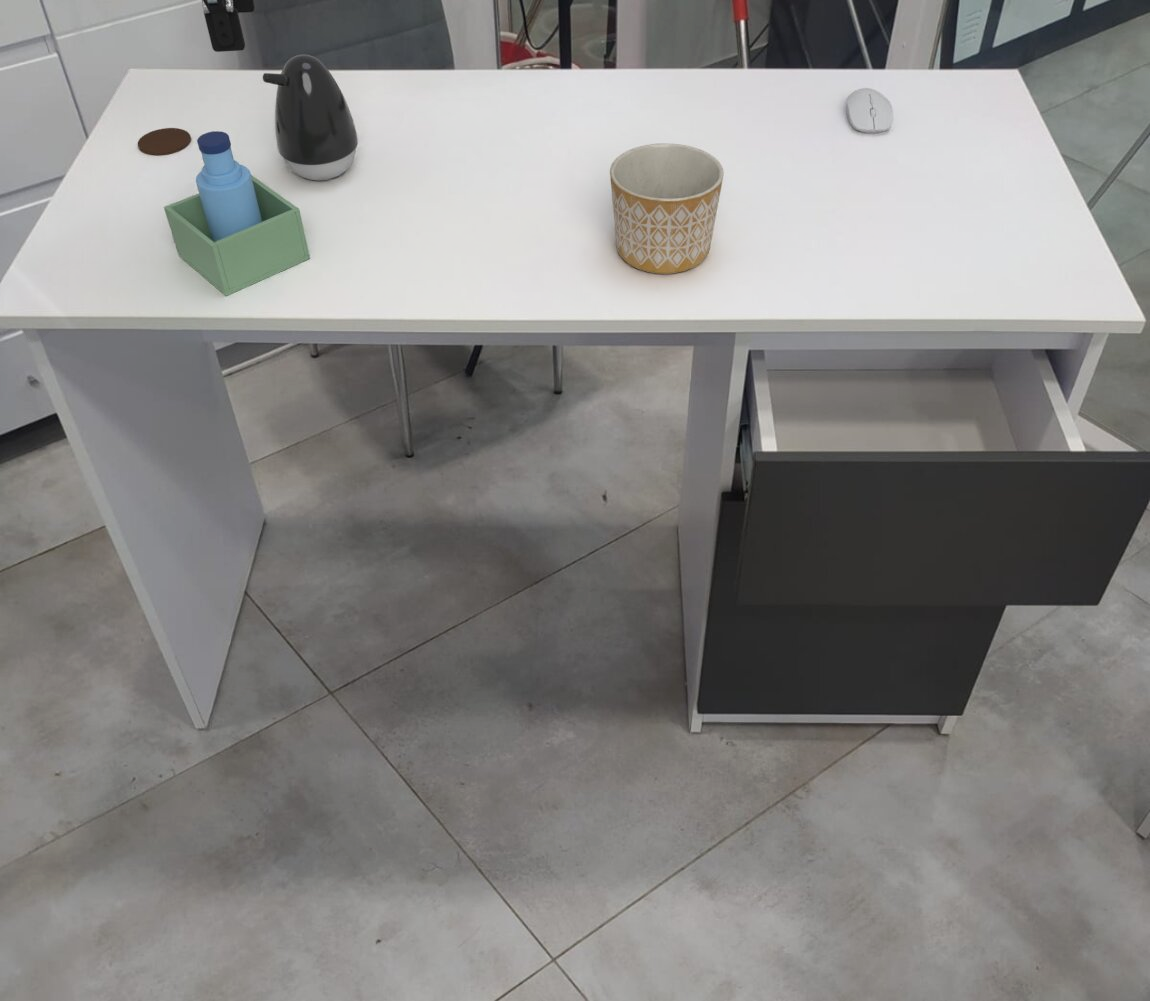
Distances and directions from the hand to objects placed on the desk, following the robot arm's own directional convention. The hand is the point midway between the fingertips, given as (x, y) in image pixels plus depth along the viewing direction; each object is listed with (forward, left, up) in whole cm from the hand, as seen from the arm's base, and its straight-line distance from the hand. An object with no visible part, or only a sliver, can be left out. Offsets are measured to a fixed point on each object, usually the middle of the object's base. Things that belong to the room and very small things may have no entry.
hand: (235, 30), depth 116 cm
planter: (+32, -33, -25) cm, 52 cm away
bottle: (-5, 0, -25) cm, 25 cm away
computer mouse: (+76, -29, -25) cm, 85 cm away
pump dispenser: (+13, +11, -25) cm, 30 cm away
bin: (-5, 0, -25) cm, 26 cm away
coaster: (+1, +32, -25) cm, 41 cm away
